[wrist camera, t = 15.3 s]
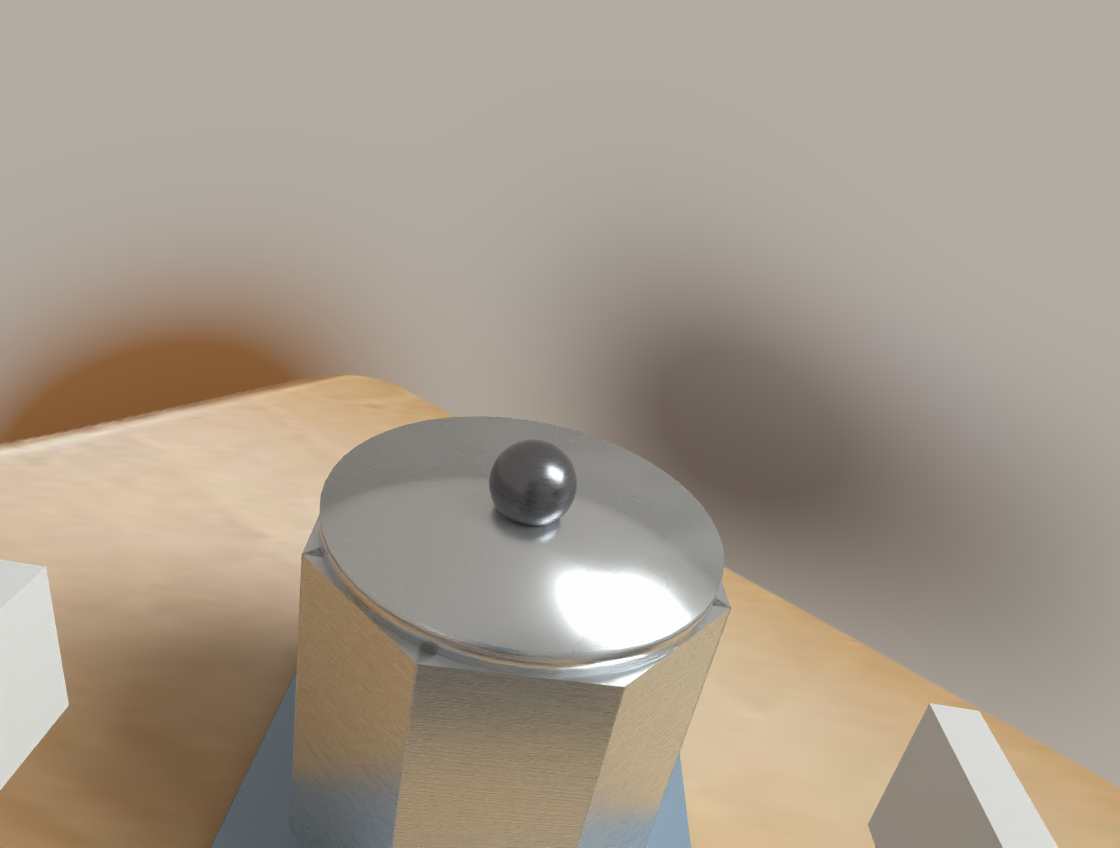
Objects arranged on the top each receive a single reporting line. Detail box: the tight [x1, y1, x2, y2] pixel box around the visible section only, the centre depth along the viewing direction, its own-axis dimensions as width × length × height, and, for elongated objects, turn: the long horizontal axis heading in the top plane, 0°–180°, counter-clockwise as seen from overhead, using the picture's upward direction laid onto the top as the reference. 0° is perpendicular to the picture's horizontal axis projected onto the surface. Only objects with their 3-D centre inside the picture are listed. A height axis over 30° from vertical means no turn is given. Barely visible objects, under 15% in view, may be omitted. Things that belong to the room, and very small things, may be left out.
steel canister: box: [290, 417, 731, 848], centre depth 25 cm, size 12×12×14 cm
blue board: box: [211, 671, 691, 848], centre depth 27 cm, size 16×14×1 cm
